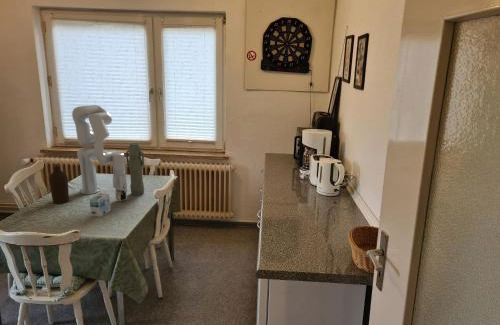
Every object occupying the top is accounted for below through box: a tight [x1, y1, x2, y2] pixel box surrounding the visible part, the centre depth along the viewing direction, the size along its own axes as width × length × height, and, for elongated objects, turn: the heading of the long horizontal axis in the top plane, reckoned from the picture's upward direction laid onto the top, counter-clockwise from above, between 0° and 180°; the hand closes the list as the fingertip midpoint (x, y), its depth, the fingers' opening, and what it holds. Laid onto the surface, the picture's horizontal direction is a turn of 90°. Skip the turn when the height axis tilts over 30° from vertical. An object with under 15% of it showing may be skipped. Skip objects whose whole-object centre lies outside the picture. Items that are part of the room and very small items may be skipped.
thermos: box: [125, 142, 145, 196], centre depth 252 cm, size 9×12×35 cm
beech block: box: [115, 189, 128, 202], centre depth 241 cm, size 5×5×6 cm
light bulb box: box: [89, 192, 111, 218], centre depth 221 cm, size 11×7×11 cm, turn 168°
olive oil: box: [48, 163, 70, 205], centre depth 237 cm, size 11×11×25 cm
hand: (121, 198), depth 242 cm, fingers closed on beech block, 5 cm apart
